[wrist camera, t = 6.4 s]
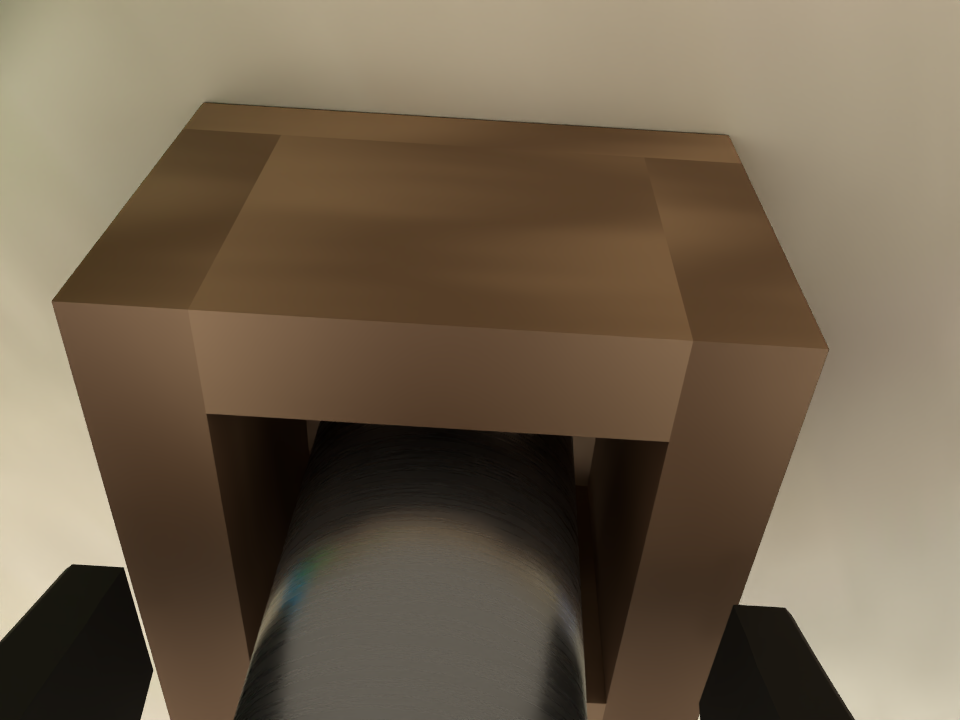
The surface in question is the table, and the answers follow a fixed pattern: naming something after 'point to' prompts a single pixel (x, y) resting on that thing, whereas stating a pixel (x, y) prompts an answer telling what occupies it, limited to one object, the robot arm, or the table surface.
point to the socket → (442, 363)
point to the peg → (425, 582)
